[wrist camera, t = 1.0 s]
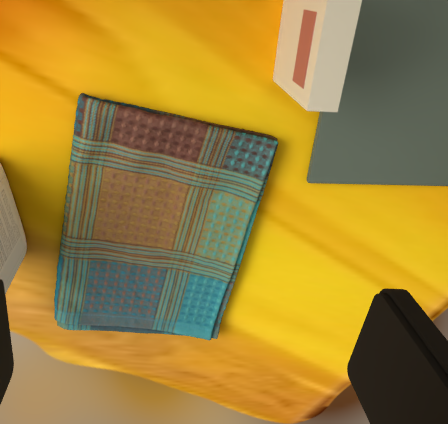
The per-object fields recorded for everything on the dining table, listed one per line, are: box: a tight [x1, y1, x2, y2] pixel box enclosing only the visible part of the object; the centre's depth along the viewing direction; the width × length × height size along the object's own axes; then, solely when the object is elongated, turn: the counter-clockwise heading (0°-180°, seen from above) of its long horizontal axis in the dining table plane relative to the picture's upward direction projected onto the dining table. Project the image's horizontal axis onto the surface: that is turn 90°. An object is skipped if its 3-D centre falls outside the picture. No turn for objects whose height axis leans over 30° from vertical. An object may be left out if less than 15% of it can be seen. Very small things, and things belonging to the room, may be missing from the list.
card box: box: [273, 0, 362, 112], centre depth 28 cm, size 6×2×9 cm, turn 175°
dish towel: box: [54, 93, 278, 340], centre depth 38 cm, size 17×23×2 cm
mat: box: [307, 0, 448, 186], centre depth 35 cm, size 16×15×1 cm
